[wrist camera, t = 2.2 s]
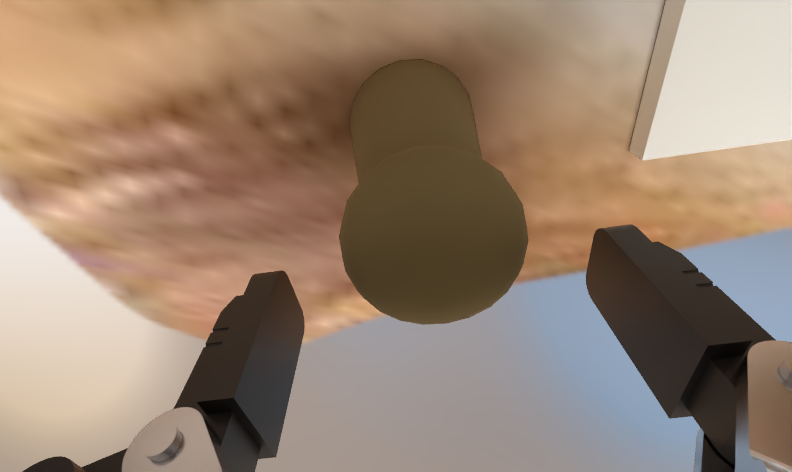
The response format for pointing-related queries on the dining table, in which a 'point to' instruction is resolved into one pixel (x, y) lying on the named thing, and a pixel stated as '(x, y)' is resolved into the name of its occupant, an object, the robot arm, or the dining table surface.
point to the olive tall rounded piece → (427, 201)
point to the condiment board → (717, 78)
